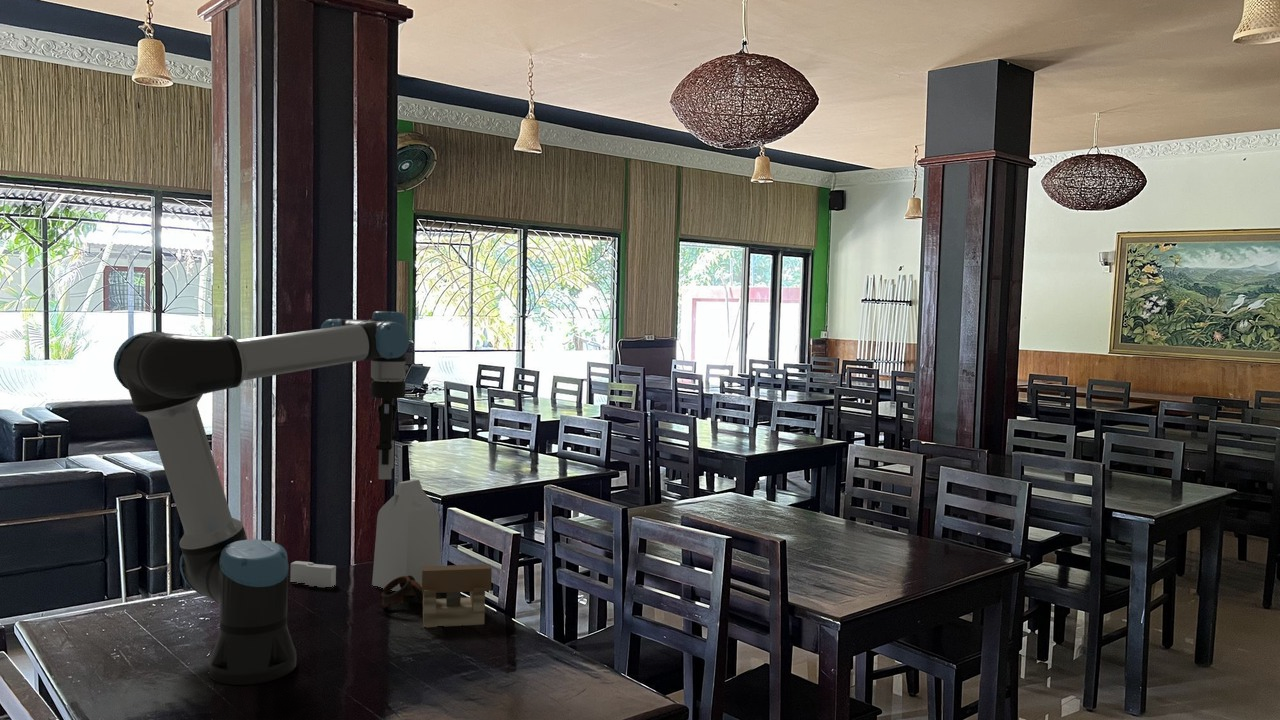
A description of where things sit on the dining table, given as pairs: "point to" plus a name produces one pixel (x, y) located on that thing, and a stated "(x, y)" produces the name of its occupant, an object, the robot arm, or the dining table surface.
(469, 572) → the brown wooden block
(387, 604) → the brown looped band sculpture
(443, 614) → the display stand
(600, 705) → the dining table surface
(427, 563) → the milk
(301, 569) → the napkin holder
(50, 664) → the dining table surface
